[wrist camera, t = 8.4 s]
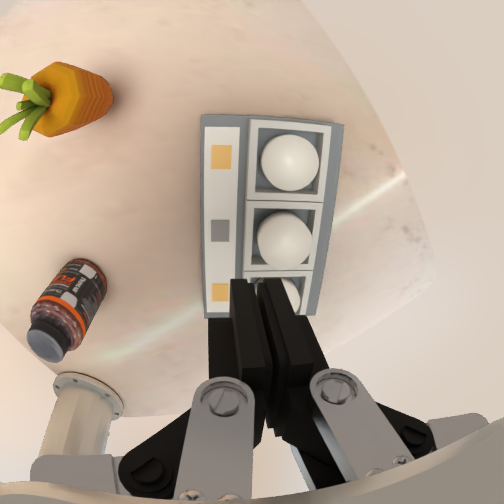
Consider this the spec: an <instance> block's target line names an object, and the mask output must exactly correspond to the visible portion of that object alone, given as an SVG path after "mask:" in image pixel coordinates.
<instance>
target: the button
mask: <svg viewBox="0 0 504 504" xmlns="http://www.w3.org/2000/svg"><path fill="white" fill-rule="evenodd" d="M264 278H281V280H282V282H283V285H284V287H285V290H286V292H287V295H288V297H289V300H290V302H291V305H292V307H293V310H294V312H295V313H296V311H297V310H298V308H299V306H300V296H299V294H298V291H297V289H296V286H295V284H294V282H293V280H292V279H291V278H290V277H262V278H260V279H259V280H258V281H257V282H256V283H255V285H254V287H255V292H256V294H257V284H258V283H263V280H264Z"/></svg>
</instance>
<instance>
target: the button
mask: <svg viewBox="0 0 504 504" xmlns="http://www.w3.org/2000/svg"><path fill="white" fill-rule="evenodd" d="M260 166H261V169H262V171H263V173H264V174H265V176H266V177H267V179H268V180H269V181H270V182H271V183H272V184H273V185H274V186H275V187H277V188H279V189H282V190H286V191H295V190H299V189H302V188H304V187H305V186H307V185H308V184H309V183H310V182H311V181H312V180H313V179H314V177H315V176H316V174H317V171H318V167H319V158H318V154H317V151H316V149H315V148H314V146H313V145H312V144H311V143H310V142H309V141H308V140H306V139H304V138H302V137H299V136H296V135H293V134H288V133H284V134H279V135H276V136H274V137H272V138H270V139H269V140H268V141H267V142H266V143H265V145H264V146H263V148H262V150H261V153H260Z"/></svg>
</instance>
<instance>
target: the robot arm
mask: <svg viewBox="0 0 504 504" xmlns="http://www.w3.org/2000/svg"><path fill="white" fill-rule="evenodd" d="M208 353H209V380H207V381H205V382H203V383H202V384H201V385H200V386H199V387H198V388H197V390H196V392H195V394H194V398H193V402H192V407H191V408H190V409H189V410H188V411H186V412H185V413H184V414H182V415H181V416H180V417H178V418H177V419H175V420H174V421H173V422H171V423H170V424H168V425H167V426H166V427H165V428H163V429H162V430H160V431H159V432H157V433H156V434H154V435H153V436H151V437H150V438H149V439H147V440H146V441H144V442H143V443H141V444H140V445H138V446H137V447H135V448H134V449H132V450H131V451H129V452H128V453H127V454H126V455H125V456H121V457H112V455H111V454H104V452H105V448H106V443H107V438H108V436H109V428H110V423H111V421H112V420H116V419H118V418H119V417H120V416H121V415H122V412H123V403H122V401H121V399H120V398H119V397H118V395H117V394H116V393H115V392H114V391H113V390H111V389H110V388H109V387H108V386H106V385H104V384H103V383H101V382H99V381H97V380H96V379H93V378H91V377H88V376H85V375H82V374H78V373H62V374H60V375H58V376H57V377H56V379H55V381H54V384H53V388H54V391H55V394H56V395H57V397H58V399H57V401H56V404H55V407H54V410H53V413H52V415H51V418H50V421H49V424H48V427H47V430H46V433H45V436H44V439H43V443H42V446H41V449H40V453H39V456H38V458H37V459H36V460H35V462H34V463H33V464H32V467H31V471H30V481H20V482H9V483H4V484H3V483H1V482H0V504H504V417H503V418H501V419H499V420H496V421H494V422H492V423H490V424H489V423H488V421H487V420H486V418H484V417H483V416H482V415H480V414H477V413H469V414H464V415H459V416H453V417H446V418H440V419H432V420H428V422H427V423H424V422H422V421H420V420H418V419H416V418H414V417H411V416H409V415H406V414H404V413H401V412H399V411H396V410H394V409H391V408H389V407H387V406H384V405H382V404H380V403H377V402H375V401H374V400H373V399H372V397H371V396H370V394H369V393H368V391H367V390H366V389H365V387H364V386H363V384H362V383H361V381H359V379H358V378H357V377H356V376H355V375H353V374H352V373H350V372H348V371H345V370H342V369H335V368H331V369H329V366H328V364H327V362H326V359H325V357H324V355H323V352H322V350H321V348H320V345H319V343H318V341H317V339H316V336H315V334H314V332H313V329H312V327H311V325H310V323H309V320H308V318H307V317H306V315H295V312H294V310H293V307H292V305H291V302H290V300H289V297H288V295H287V292H286V290H285V287H284V285H283V282H282V280H281V278H264V280H263V283H258V284H257V294H256V292H255V287H254V284H253V283H248V281H247V279H230V303H229V317H218V318H208ZM265 418H266V423H267V427H268V428H274V433H275V437H279V436H282V439H283V440H284V441H286V442H287V443H289V444H291V450H292V453H293V455H294V458H295V460H296V462H297V464H298V466H299V469H300V471H301V473H302V475H303V478H304V480H305V482H306V484H307V486H308V488H309V491H308V492H302V493H296V494H290V495H283V496H276V497H268V498H258V499H251V495H252V468H253V467H252V465H253V449H254V448H255V447H256V446H257V445H258V444H259V443H260V442H261V437H262V431H263V426H264V421H265Z"/></svg>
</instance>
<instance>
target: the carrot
mask: <svg viewBox="0 0 504 504" xmlns="http://www.w3.org/2000/svg"><path fill="white" fill-rule="evenodd" d="M0 88H1V89H5V90H10V91H14V92H19V93H23V94H24V97H23V99H22V101H21V102H18V103H17V105H16V108H17V110H23V111H21V112H19V113H17V114H15V115H13V116H11V117H9V118H7V119H6V120H5V121H3V122H2V123H1V124H0V135H1V134H2V133H4V132H5V131H6V130H7V129H8V128H10V127H11V126H12V125H14V124H15V123H17V122H19V121H20V120H22V119H24V118H25V121H24V122H23V124H22V126H21V129H20V133H19V139H20V140H28V138H29V136H30V133H31V131H32V130H34V131H36V132H38V133H40V134H42V135H44V136H47V137H54V136H57V135H61V134H64V133H67V132H70V131H73V130H76V129H78V128H80V127H82V126H85V125H87V124H89V123H91V122H93V121H95V120H97V119H99V118H101V117H102V116H104V115H105V114H106V113H107V112H108V110H109V108H110V106H111V104H112V102H113V100H114V99H113V95H112V91H111V87H110V84H109V83H108V82H107V81H106V80H105V79H104V78H102V77H101V76H99V75H96V74H94V73H91V72H89V71H86V70H84V69H81V68H78V67H76V66H73V65H69V64H66V63H62V62H54V63H52V64H51V65H49V66H47V67H46V68H44V69H43V70H41V71H39V72H38V73H36V74H35V75H33V76H32V77H31V79H30V80H28V79H26V78H23V77H20V76H18V75H14V74H10V73H4V74H3V75H2V76H1V77H0Z"/></svg>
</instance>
